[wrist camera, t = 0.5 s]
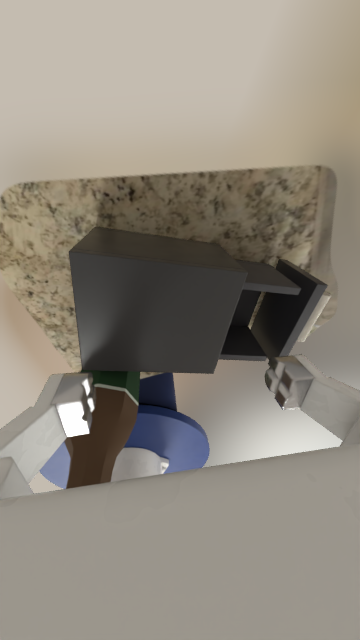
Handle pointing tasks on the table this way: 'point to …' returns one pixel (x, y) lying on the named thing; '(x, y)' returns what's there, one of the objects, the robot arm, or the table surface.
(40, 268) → the table surface
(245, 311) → the drawer
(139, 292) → the cabinet
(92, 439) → the beer bottle
